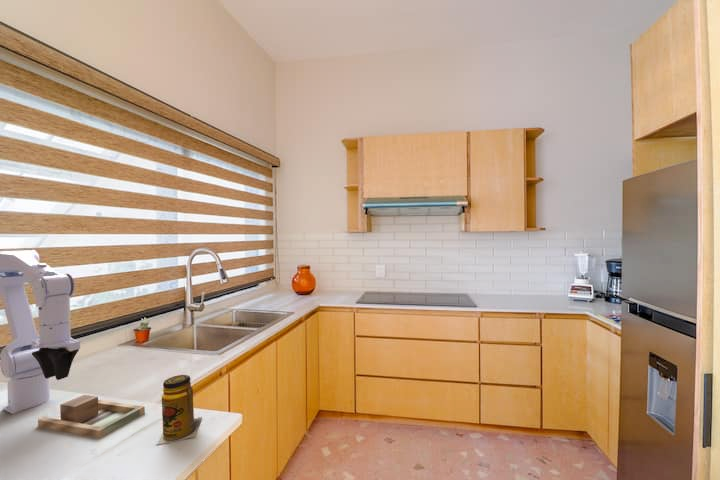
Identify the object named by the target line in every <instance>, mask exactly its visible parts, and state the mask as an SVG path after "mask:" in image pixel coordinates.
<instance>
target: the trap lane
mask: <svg viewBox="0 0 720 480" xmlns="http://www.w3.org/2000/svg"><path fill="white" fill-rule="evenodd" d="M143 414H146V413H145V406H144V405H138V404H137V405H136V404H129V403H122V402H117V401H116V402H115V401H107V400H99V399H98V413H97V414H95V415H93V416H91V417H89V418H87V419H85V420H83V421H81V422H79V423H76V422H70V421H64V420H61V415H60V416H58V417H56V418H53V417H46V416H44V417H43V416H42V417H41V418H39V419H37V428H38V427H39V428H45V429H50V430H54V431H60V432H66V433H70V434H71V433H72V434H75V435H81V436H87V437H92V438H97V439H100V438H102V437H103V436H107V435H108V434H109V433H111V432H113V431H114V430H117V429H118V428H120V427H122V426H123V425H125V424H128V423H129V422H131V421H133V420H134V419H136V418H138V417H140V416H141V415H143Z"/></svg>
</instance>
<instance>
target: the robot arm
mask: <svg viewBox="0 0 720 480" xmlns="http://www.w3.org/2000/svg"><path fill="white" fill-rule="evenodd" d="M40 261H41V260H40V255H39V253H38V252H37V251H36V250H35V249H30V250H2V251H1V250H0V298H1V301H2V306H3V308H4V313H5V317H6V321H7V325H8V328H9V332H10V336H11V340H12V341H11V342H10V343H8V344H7V345H5V347H4V348H3V349H2V350H1V351H0V371H1V374H2V376H3V377H4V378H6V379H9V380H8V381H7V382H8V383H7V405H6V406H3V407H2V410H5V412H7V413H10V414H12V415H13V414H16V413H18V412H21V411H24V410H25V409H26V410H27V409H31V408H33V407H37V406H39V405H40V406H41V405H42V404H44V403H47V402H48V401H50V400H51V399H53V398H52V397H51V394H50V393H51V392H50V388H51V387H50V385H51V384H50V378H53V377H55V379H56V381H60V380H62V379H65V378H68V377H69V374H70V371H71V367H72V363H73V361H74V358H75V357H76V355H77V353H79V351H80V349H81V340H76V339H74V338H72V337H71V336H72V335H71V298H70V297H71V296H73V293H74V292H75V280H74V278H73V276H72V275H71V274H70V273H64V274H60V273H59V272H58V271H56V270H55V269H54V268H52V267H51V266H49V265H48V264H47V263H45V262H44V263H43V262H42V263H41V262H40ZM26 284H28V285H29V286H30V287H32V293H33V296H34V300H35V306H36V307H37V308H38V331H37V328H36V323H35V320H34V317H33V314H32V310H31V306H30V303H29V299H28V296H27V293H26V288H25V285H26Z"/></svg>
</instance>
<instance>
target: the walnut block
mask: <svg viewBox="0 0 720 480" xmlns="http://www.w3.org/2000/svg"><path fill="white" fill-rule="evenodd" d="M98 400H99V396H96V395H89V394H82V395H79V396H78V397H75V398H72V399H70V400H68V401H65V402H63V403H61V404H59V405H60V406H59V407H60V408H59V409H60V410H59V411H60V412H59V413H60V416H61V420H64V421H70V422H76V423H79V422H81V421H83V420H85V419H87V418H89V417H91V416H93V415H95V414H97V413H98Z"/></svg>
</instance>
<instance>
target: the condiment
mask: <svg viewBox="0 0 720 480" xmlns="http://www.w3.org/2000/svg"><path fill="white" fill-rule="evenodd" d="M162 385H163V389H162V391H163V392H162V395H161V408H162V409H161V416H162V418H161V419H162V434H161V436H160V437H159V439H158V441H157V444H156V445H161V444H168V443H173V442H177V441H182V440H186V439H190V438H196V435H197V433H198V429H199V426H200V424H201V421H202V417H203V416H200V417H196V418H195V413H194V390H193V389H194V388H193V387H192V383H191V377H190V375H189V374H188V375H187V374H177V375H173V376H172V377H168V378H167V379H165V380H164V381H163V384H162Z"/></svg>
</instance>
